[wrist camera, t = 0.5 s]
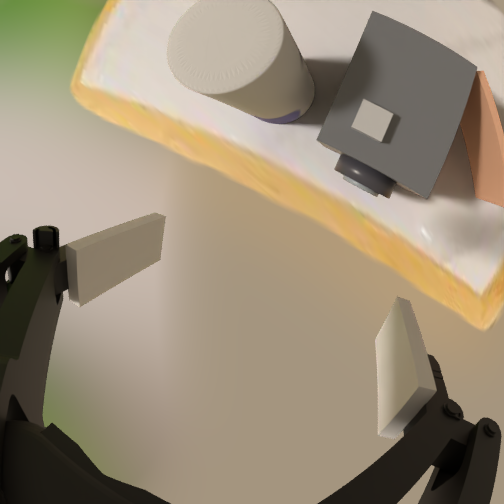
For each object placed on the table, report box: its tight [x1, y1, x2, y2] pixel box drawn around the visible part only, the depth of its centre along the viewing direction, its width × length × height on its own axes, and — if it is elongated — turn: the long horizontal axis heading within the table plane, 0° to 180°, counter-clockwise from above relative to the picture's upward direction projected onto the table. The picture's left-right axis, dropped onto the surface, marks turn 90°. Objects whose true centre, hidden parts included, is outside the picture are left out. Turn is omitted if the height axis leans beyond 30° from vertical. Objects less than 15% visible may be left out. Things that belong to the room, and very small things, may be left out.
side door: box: [460, 71, 504, 207], centre depth 24 cm, size 15×2×10 cm, turn 17°
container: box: [167, 0, 315, 124], centre depth 27 cm, size 10×10×20 cm
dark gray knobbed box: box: [317, 11, 477, 199], centre depth 27 cm, size 18×12×13 cm, turn 157°
